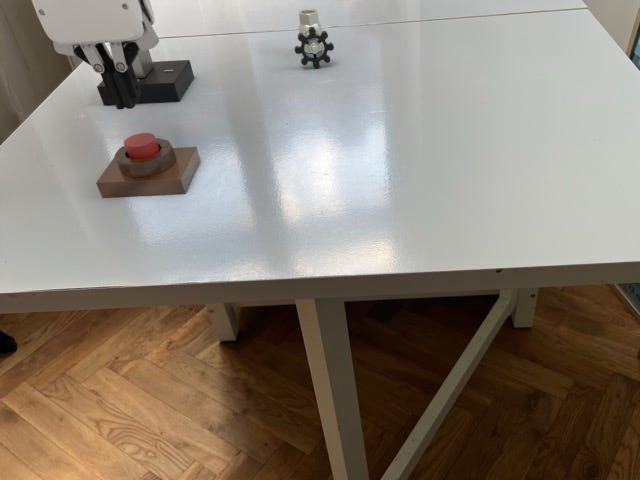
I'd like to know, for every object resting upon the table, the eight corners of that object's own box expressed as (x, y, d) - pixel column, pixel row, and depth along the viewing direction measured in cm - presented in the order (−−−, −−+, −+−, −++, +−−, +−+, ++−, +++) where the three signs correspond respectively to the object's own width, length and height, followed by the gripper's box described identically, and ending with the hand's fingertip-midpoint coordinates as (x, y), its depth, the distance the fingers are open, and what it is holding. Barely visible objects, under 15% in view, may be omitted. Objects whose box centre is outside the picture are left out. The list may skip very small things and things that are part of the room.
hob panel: (103, 105, 87) (96, 85, 85) (124, 81, 95) (118, 62, 92) (179, 101, 87) (173, 81, 85) (194, 77, 94) (189, 58, 92)
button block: (102, 199, 66) (89, 169, 63) (124, 165, 72) (113, 137, 69) (185, 195, 66) (176, 165, 63) (201, 161, 72) (192, 133, 69)
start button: (124, 161, 65) (119, 147, 64) (134, 146, 68) (129, 133, 67) (154, 159, 65) (150, 146, 64) (163, 145, 68) (158, 132, 67)
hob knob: (144, 66, 91) (135, 39, 88) (154, 66, 91) (145, 39, 88) (135, 78, 87) (125, 50, 84) (145, 77, 87) (136, 50, 84)
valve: (294, 48, 103) (297, 71, 95) (288, 9, 99) (291, 30, 90) (329, 44, 104) (335, 67, 95) (325, 6, 100) (332, 26, 91)
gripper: (149, -103, 53) (202, 87, 65) (-4, -91, 53) (77, 95, 65) (123, -91, 47) (186, 114, 59) (-48, -79, 48) (49, 123, 60)
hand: (129, 103), depth 62 cm, fingers closed
